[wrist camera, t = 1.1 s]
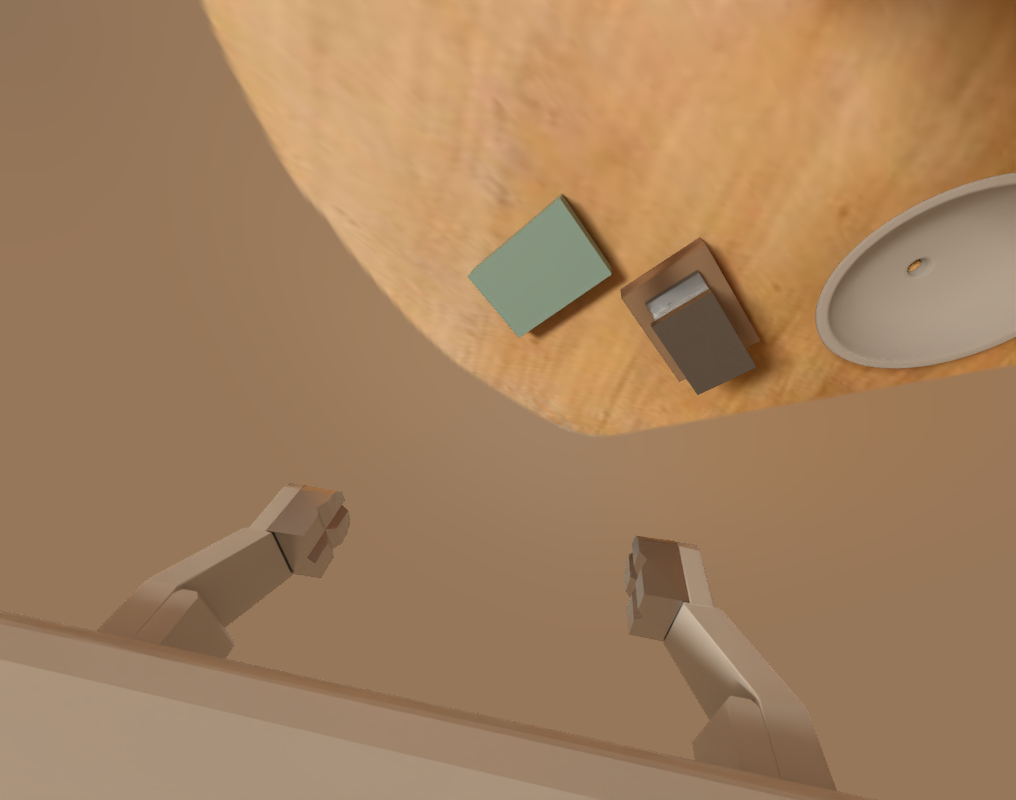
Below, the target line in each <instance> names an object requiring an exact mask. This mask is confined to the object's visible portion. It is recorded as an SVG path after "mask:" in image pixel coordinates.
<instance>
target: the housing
mask: <svg viewBox="0 0 1016 800" xmlns="http://www.w3.org/2000/svg"><path fill="white" fill-rule="evenodd" d="M645 305H646V307H647V308H648V310H649V311H650V313H651V314H652V316H653V319H654V322H652V323H651V327H652V329H653V330H654V332H655V333H656V335H657V336H658V338H659V339H660V340H661V342H662V343H663V345H664V346H665V348H666V349H667V351H668V352H669V354H670V355H671V357H672V358H673V360H674V361H675V362H676V364H677V365H678V367H679V368H680V370H681V371H682V373H683V374H684V376H685V377H686V379H687V380H688V381H689V383H690V384H691V386H692V387H693V389H694V390H695V392H696V393H697V395H699V394H701V393H703V392H705V391H707V390H710V389H712V388H714V387H716V386H718V385H720V384H722V383H724V382H727V381H729V380H731V379H733V378H735V377H737V376H739V375H741V374H743V373H746V372H748V371H750V370H752V369H754V368H756V366H755V364H754V362H753V361H752V359H751V357H750V356H749V354H748V352H747V351H746V349H745V347H744V345H743V344H742V342H741V340H740V339H739V337H738V335H737V334H736V332H735V330H734V329H733V327H732V325H731V323H730V322H729V320H728V318H727V317H726V315H725V313H724V312H723V310H722V308H721V307H720V305H719V303H718V301H717V300H716V298H715V296H714V295H713V293H712V291H711V290H710V288H708V287H707V285H706V284H705V282H704V280H703V278H702V277H701V275H700V273H699V272H698V270H696V271H694V272H692V273H691V274H689V275H688V276H686V277H684V278H683V279H681V280H680V281H678V282H676V283H675V284H673V285H671V286H670V287H668V288H667V289H665V290H663V291H662V292H660V293H659V294H657V295H655V296H654V297H652V298H651V299H649V300H647V301H646V302H645Z"/></svg>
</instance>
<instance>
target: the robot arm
mask: <svg viewBox="0 0 1016 800" xmlns="http://www.w3.org/2000/svg"><path fill="white" fill-rule="evenodd" d="M344 501H345V499H344V496H343V493H342V492H339V491H333V490H328V489H323V488H317V487H312V486H306V485H300V484H294V483H289V484H288V485H286V486H284V487H283V488H282V490H281V491H280V492H279V493H278V494H277V496H276V497H275V498H274V499H273V500H272V501H271V503H270V504H269V505H268V506H267V507H266V508H265V510H264V511H263V512H262V513H261V514H260V516H259V517H258V518H257V519H256V520H255V521H254V523H253V524H252V525H251V526H250V528H242V529H241V530H239V531H237V532H235V533H233V534H231V535H229V536H227V537H225V538H224V539H222V540H220V541H218V542H216V543H214V544H212V545H210V546H209V547H207V548H205V549H203V550H201V551H199V552H197V553H195V554H194V555H192V556H190V557H188V558H186V559H184V560H182V561H180V562H179V563H177V564H175V565H173V566H171V567H169V568H168V569H166V570H164V571H162V572H160V573H158V574H156V575H154V576H152V577H151V578H149V579H147V580H146V581H145V582H144V583H143V584H142V585H141V586H140V587H139V588H138V589H137V590H136V591H135V592H134V593H133V594H132V595H131V596H130V597H129V598H128V599H127V600H126V601H125V602H124V603H123V604H122V605H121V606H120V607H119V608H118V609H117V610H116V611H115V612H114V613H113V614H112V616H111V617H110V618H109V619H108V620H107V621H106V622H105V623H104V624H103V625H102V626H101V627H100V628H99V629H98V630H97V631H95V630H90V629H85V628H81V627H76V626H71V625H67V624H62V623H58V622H52V621H48V620H44V619H39V618H34V617H30V616H25V615H20V614H16V613H11V612H6V611H1V610H0V800H876V799H871V798H867V797H862V796H857V795H853V794H848V793H843V792H839V791H837V790H836V787H835V785H834V782H833V779H832V776H831V774H830V771H829V768H828V765H827V762H826V760H825V757H824V754H823V751H822V749H821V747H820V743H819V740H818V738H817V735H816V732H815V729H814V726H813V724H812V721H811V718H810V715H809V713H808V710H807V708H806V707H805V706H804V705H803V704H802V703H801V701H800V700H799V699H798V698H797V697H796V696H795V694H794V693H793V692H792V691H791V690H790V689H789V687H788V686H787V685H786V684H785V683H784V682H783V680H782V679H781V678H780V677H779V676H778V675H777V673H776V672H775V671H774V670H773V669H772V668H771V666H770V665H769V664H768V663H767V662H766V661H765V659H764V658H763V657H762V656H761V655H760V654H759V653H758V651H757V650H756V649H755V648H754V647H753V646H752V644H751V643H750V642H749V641H748V640H747V638H746V637H745V636H744V635H743V634H742V633H741V632H740V630H739V629H738V628H737V627H736V626H735V625H734V623H733V622H732V621H731V620H730V619H729V618H728V616H727V615H726V614H725V613H724V612H723V611H722V609H720V608H716V607H714V605H713V600H712V596H711V593H710V588H709V585H708V580H707V576H706V573H705V568H704V565H703V561H702V557H701V553H700V549H699V548H698V546H697V545H694V544H687V543H680V542H675V541H670V540H663V539H655V538H648V537H641V536H635V538H634V540H633V543H632V550H633V553H631V554H629V556H628V559H627V563H626V571H625V586H626V592H627V593H628V595H629V596H630V600H629V603H628V606H627V615H628V628H629V634H630V635H635V636H640V637H645V638H650V639H654V640H659V641H664V645H665V647H666V648H667V650H668V652H669V653H670V655H671V657H672V658H673V660H674V662H675V663H676V665H677V667H678V668H679V670H680V672H681V673H682V675H683V676H684V678H685V680H686V681H687V683H688V685H689V686H690V688H691V690H692V692H693V694H694V695H695V697H696V699H697V700H698V702H699V704H700V705H701V707H702V709H703V710H704V712H705V714H706V715H707V717H708V719H709V720H710V721H709V722H708V723H707V725H706V726H705V727H704V728H703V730H702V731H701V732H700V733H699V734H698V736H697V737H696V738H695V739H694V740H693V742H692V744H693V751H694V758H695V760H691V759H686V758H682V757H677V756H673V755H668V754H663V753H658V752H654V751H650V750H645V749H640V748H635V747H631V746H627V745H622V744H617V743H613V742H608V741H603V740H599V739H594V738H589V737H585V736H580V735H575V734H571V733H566V732H562V731H557V730H552V729H548V728H543V727H539V726H534V725H530V724H525V723H520V722H516V721H511V720H506V719H502V718H497V717H493V716H488V715H483V714H479V713H474V712H469V711H465V710H460V709H456V708H451V707H446V706H442V705H437V704H433V703H428V702H423V701H419V700H414V699H409V698H405V697H400V696H395V695H391V694H386V693H382V692H377V691H372V690H368V689H363V688H358V687H354V686H349V685H345V684H340V683H335V682H330V681H326V680H322V679H317V678H312V677H308V676H303V675H298V674H293V673H289V672H285V671H280V670H275V669H270V668H266V667H261V666H257V665H252V664H247V663H243V662H238V661H234V660H228V659H226V657H227V656H228V654H229V653H230V651H231V650H232V648H233V647H234V641H233V639H232V638H231V636H230V635H229V634H228V632H227V631H226V630H225V627H226V626H228V625H229V624H230V623H231V622H233V621H234V620H235V619H236V618H238V617H239V616H240V615H242V614H243V613H244V612H246V611H247V610H248V609H250V608H251V607H252V606H253V605H255V604H256V603H257V602H259V601H260V600H261V599H263V598H264V597H265V596H266V595H267V594H269V593H270V592H272V591H273V590H274V589H275V588H276V587H278V586H279V585H281V584H282V583H283V582H284V581H286V580H287V579H288V578H290V577H291V576H292V574H297V575H305V576H311V577H318V578H321V577H322V575H323V574H324V572H325V570H326V569H327V567H328V565H329V564H330V562H331V560H332V559H333V557H334V556H333V548H335V547H336V546H338V545H340V544H341V543H342V542H343V540H344V538H345V536H346V535H347V531H348V528H349V525H350V515H349V512H348V510H347V509H346V508H345V507H344V506H343V505H342V504H343V502H344Z"/></svg>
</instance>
